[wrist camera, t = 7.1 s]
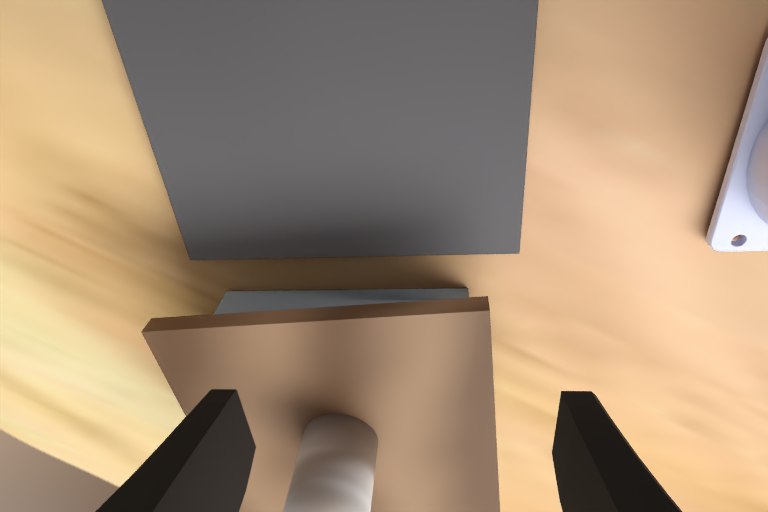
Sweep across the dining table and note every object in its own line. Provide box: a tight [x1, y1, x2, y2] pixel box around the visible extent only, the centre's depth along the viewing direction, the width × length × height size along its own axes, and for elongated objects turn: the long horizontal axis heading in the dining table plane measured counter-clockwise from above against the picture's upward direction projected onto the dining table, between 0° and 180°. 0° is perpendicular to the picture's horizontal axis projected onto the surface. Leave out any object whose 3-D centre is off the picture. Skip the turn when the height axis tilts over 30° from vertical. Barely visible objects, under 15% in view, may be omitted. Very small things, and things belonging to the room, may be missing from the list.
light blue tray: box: [214, 288, 469, 314], centre depth 24 cm, size 11×11×4 cm
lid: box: [142, 296, 500, 512], centre depth 20 cm, size 13×13×4 cm
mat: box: [102, 0, 538, 260], centre depth 18 cm, size 14×14×1 cm
